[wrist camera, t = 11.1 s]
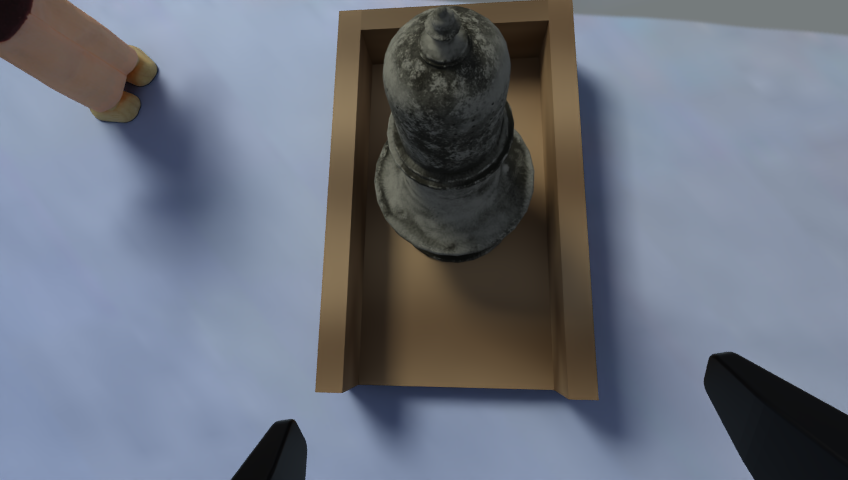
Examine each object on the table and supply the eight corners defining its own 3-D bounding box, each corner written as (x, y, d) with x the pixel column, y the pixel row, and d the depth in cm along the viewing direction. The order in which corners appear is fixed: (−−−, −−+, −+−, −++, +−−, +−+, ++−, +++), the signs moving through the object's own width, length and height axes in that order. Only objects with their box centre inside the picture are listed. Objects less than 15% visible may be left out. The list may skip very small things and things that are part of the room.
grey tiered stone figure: (367, 232, 19) (220, 82, 8) (427, 123, 20) (378, -162, 9) (485, 293, 18) (523, 225, 7) (544, 175, 19) (669, -69, 8)
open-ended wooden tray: (573, 387, 18) (598, 400, 15) (341, 381, 19) (315, 392, 16) (555, 51, 22) (572, -2, 18) (358, 59, 22) (339, 11, 19)
